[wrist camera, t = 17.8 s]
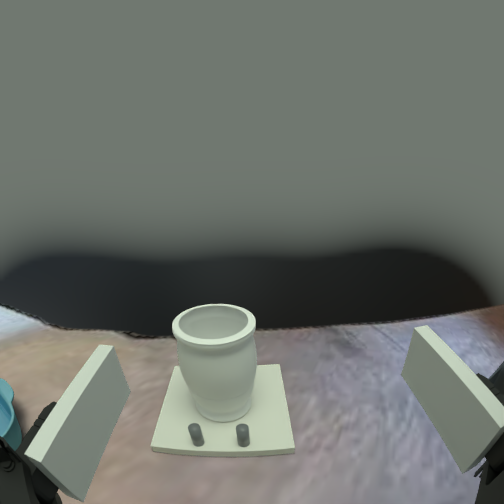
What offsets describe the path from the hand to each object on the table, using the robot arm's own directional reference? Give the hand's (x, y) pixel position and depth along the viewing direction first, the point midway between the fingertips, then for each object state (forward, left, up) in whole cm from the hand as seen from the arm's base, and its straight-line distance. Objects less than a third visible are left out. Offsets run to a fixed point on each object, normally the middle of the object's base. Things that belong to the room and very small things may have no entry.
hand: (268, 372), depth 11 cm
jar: (+5, -21, -24) cm, 33 cm away
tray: (+5, -21, -26) cm, 34 cm away
